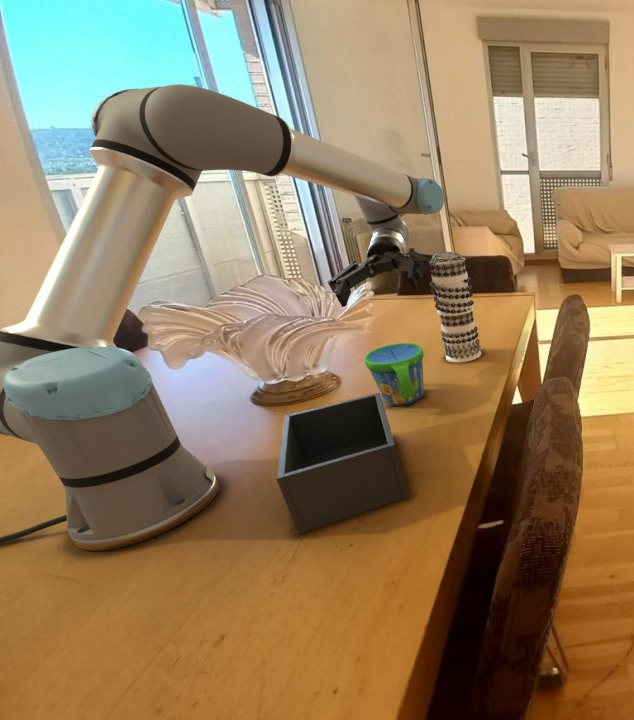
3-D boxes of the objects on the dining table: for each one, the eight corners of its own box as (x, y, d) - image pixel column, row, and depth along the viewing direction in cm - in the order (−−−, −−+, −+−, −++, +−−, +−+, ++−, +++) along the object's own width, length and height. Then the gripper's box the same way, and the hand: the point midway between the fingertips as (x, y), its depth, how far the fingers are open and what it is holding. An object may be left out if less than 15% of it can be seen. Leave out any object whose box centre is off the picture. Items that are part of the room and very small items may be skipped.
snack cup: (437, 408, 92) (427, 360, 88) (378, 422, 88) (365, 373, 84) (426, 378, 105) (417, 335, 101) (374, 389, 101) (362, 345, 97)
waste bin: (298, 535, 62) (276, 479, 58) (301, 463, 77) (283, 415, 73) (408, 497, 68) (394, 444, 65) (391, 437, 83) (379, 392, 79)
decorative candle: (466, 345, 122) (449, 248, 112) (490, 353, 118) (475, 251, 107) (436, 358, 116) (415, 255, 105) (460, 366, 111) (441, 259, 101)
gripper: (447, 253, 114) (447, 293, 97) (338, 278, 110) (319, 324, 93) (435, 223, 109) (434, 259, 92) (322, 248, 105) (299, 290, 88)
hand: (377, 292), depth 93 cm, fingers open, 13 cm apart
